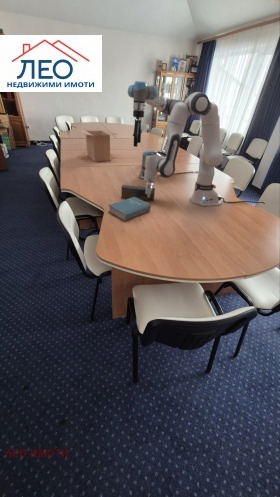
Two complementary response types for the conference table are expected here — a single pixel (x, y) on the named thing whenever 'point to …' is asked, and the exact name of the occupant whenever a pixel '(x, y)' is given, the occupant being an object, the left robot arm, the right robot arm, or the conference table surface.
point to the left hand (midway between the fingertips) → (137, 144)
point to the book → (129, 208)
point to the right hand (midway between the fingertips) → (149, 195)
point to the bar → (137, 192)
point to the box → (98, 144)
